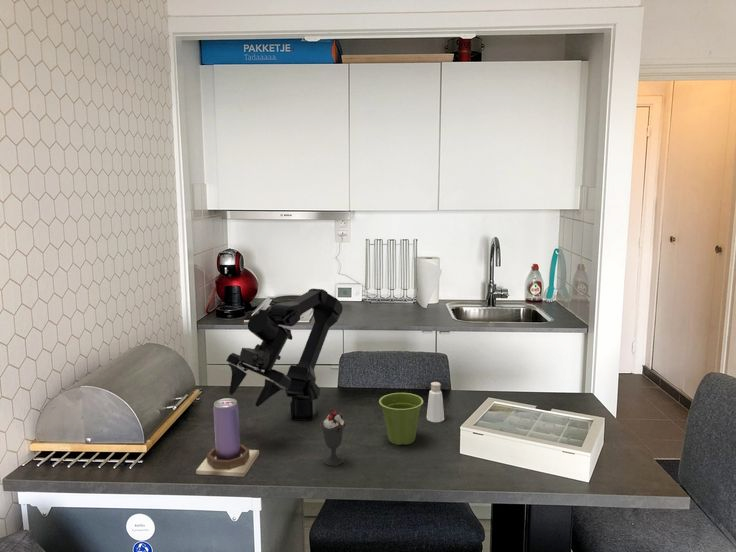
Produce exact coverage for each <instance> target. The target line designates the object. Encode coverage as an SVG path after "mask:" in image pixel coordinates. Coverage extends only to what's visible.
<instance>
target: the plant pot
mask: <svg viewBox="0 0 736 552" xmlns="http://www.w3.org/2000/svg"><path fill="white" fill-rule="evenodd" d="M378 403H379V405H380V407H381V409H382V410H381V411H382V413H383V417H384V422H385V428H386V433H387V438H388V441H389V442H390V443H392V444H393V445H397V446H400V445H405V446H406V445H410V444H412V443H414V442H415V440H416V436H417V430H418V423H419V422H418V421H419V415H420V411H421V407H422V405H423V404H424V400H423V398H422V397H421V396H419V395H418V394H413V393H409V392H394V393H389V394H386V395H383V396H381V397H380V398H379V400H378Z"/></svg>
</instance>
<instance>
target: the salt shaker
mask: <svg viewBox="0 0 736 552" xmlns="http://www.w3.org/2000/svg"><path fill="white" fill-rule="evenodd" d="M430 388H431V389H430V390H429V393H428V400H427V401H428V402H427V411H426V420H427V421H428V422H431V423H441V422H444V420H445V413H444V399H443V392H442V390H441V383H440V382H438V381H433V382H431V383H430Z"/></svg>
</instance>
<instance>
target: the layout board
mask: <svg viewBox="0 0 736 552" xmlns="http://www.w3.org/2000/svg"><path fill="white" fill-rule="evenodd" d="M240 451H241V456H240V457H238V458H235V459H231V460H217V459H216V446H214V447H212V448H211V450H210V451H209V452H208V453H207V454H206V458H205V459H204V460H203V461H202V463H201V464H200V465H199V466H198V467H197V468H196V470H195V474H196V475H203V476H204V475H206V476H224V477H243V478H244V477H245V476H246V474H248V472H249V470H250V469H251V467H252V465H253V464H254V462H255V461H256V459H257V458H258V456H259V455H260V450H259V449H249V448H248V447H246V446H245V445H244V444H241V443H240Z"/></svg>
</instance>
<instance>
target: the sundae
mask: <svg viewBox="0 0 736 552" xmlns="http://www.w3.org/2000/svg"><path fill="white" fill-rule="evenodd" d="M343 417H344V416H343V414H342V413H340V411H337V410H336V411H335V410H333V407H331V408H330V410H329V413H328V415H327V416H326V418H325V419H323V420H322V421H321V422H320V423H319V426H320V427H321V428H322V432H323V437H324V438H323V439H324V443H325V445H326V446H327V447H328V448H329V449H330V450H331V451H330V456H328V457H325V458H324V459H323V463H324V464H325V465H327V466H333V467H334V466H340V465H342V463H344V458H342V457H341V456H338V455H337V448H339V447H340V446H341V444H342V439H343V433H344V428H346V426H347V421H346V420H345V419H343Z"/></svg>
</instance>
